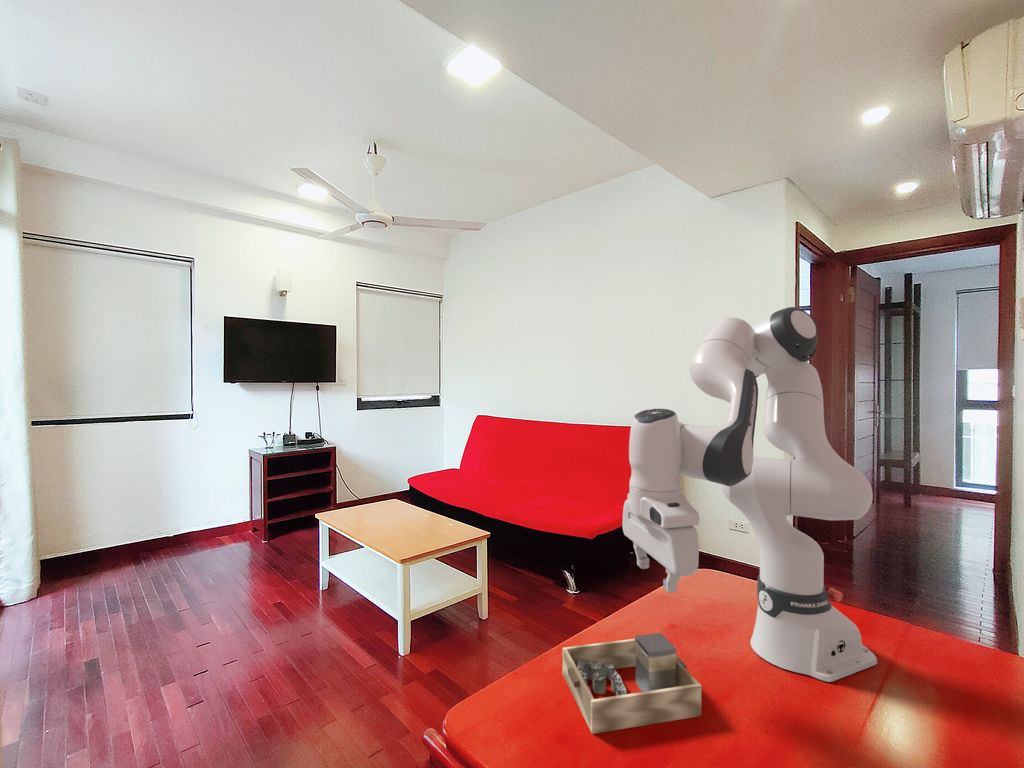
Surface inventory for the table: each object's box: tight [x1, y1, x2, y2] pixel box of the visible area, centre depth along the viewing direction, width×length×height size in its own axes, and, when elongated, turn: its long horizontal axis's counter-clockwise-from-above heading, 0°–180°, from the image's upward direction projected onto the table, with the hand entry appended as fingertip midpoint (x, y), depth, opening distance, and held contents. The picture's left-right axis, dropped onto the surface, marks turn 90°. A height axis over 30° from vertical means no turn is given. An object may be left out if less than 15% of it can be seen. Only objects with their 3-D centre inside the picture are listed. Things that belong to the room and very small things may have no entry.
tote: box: [562, 638, 702, 735], centre depth 82 cm, size 21×15×5 cm
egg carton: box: [577, 661, 628, 696], centre depth 81 cm, size 11×8×4 cm
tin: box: [634, 632, 677, 692], centre depth 83 cm, size 5×5×8 cm
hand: (655, 578), depth 83 cm, fingers open, 8 cm apart
